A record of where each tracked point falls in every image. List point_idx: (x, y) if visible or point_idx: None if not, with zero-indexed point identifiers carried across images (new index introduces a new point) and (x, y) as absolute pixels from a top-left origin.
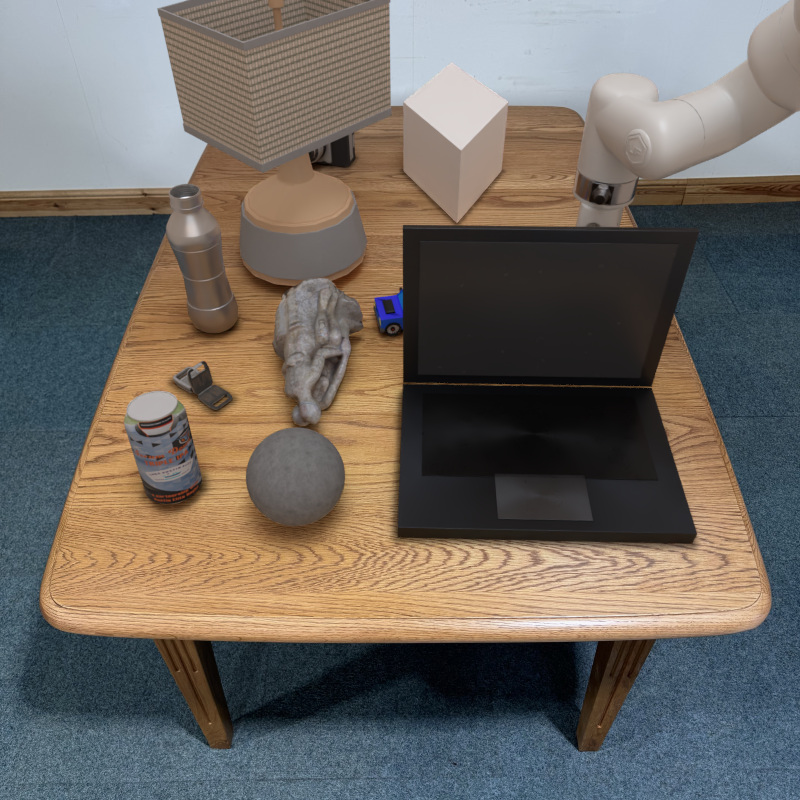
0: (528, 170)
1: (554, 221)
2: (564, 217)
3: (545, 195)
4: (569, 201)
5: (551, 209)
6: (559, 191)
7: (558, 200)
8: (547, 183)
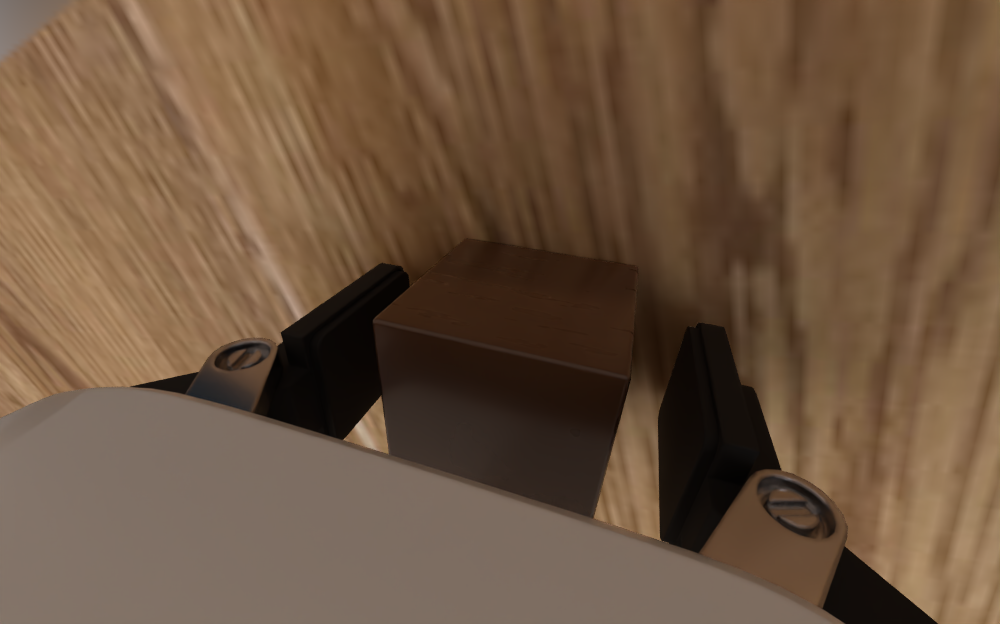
0: (5, 408)
1: (125, 370)
2: (88, 341)
3: (49, 381)
4: (17, 322)
5: (86, 373)
6: (5, 345)
7: (38, 351)
8: (5, 372)
